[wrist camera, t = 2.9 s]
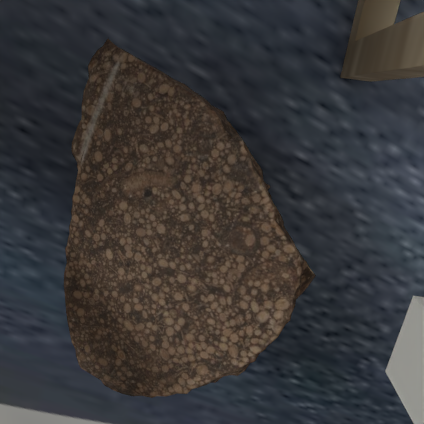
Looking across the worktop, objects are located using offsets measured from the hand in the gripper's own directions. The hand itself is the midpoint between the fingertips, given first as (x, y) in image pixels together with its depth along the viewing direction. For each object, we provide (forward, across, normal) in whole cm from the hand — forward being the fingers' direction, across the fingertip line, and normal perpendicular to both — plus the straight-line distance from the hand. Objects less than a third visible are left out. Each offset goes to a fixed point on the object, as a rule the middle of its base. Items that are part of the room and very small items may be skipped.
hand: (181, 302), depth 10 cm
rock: (+10, 0, 0) cm, 10 cm away
